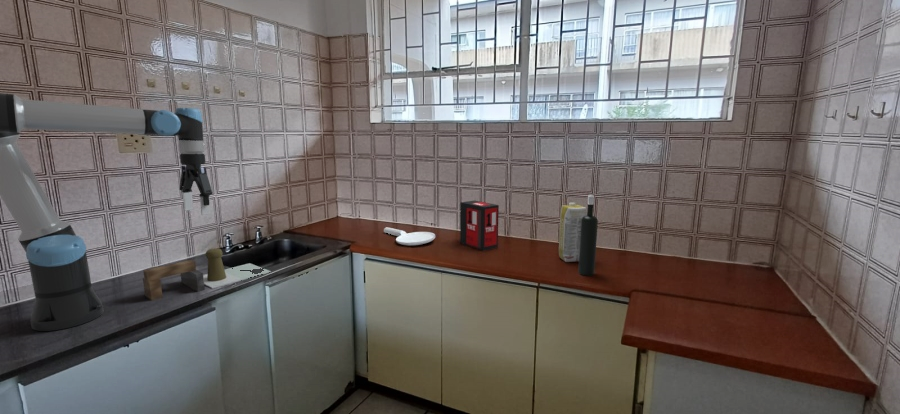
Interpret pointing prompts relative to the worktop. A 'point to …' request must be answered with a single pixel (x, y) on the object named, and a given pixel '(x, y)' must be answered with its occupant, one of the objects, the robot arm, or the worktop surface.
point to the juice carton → (570, 231)
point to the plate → (234, 275)
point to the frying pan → (410, 236)
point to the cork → (215, 265)
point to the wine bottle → (588, 241)
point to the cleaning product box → (479, 225)
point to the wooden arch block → (184, 268)
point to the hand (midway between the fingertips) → (197, 212)
